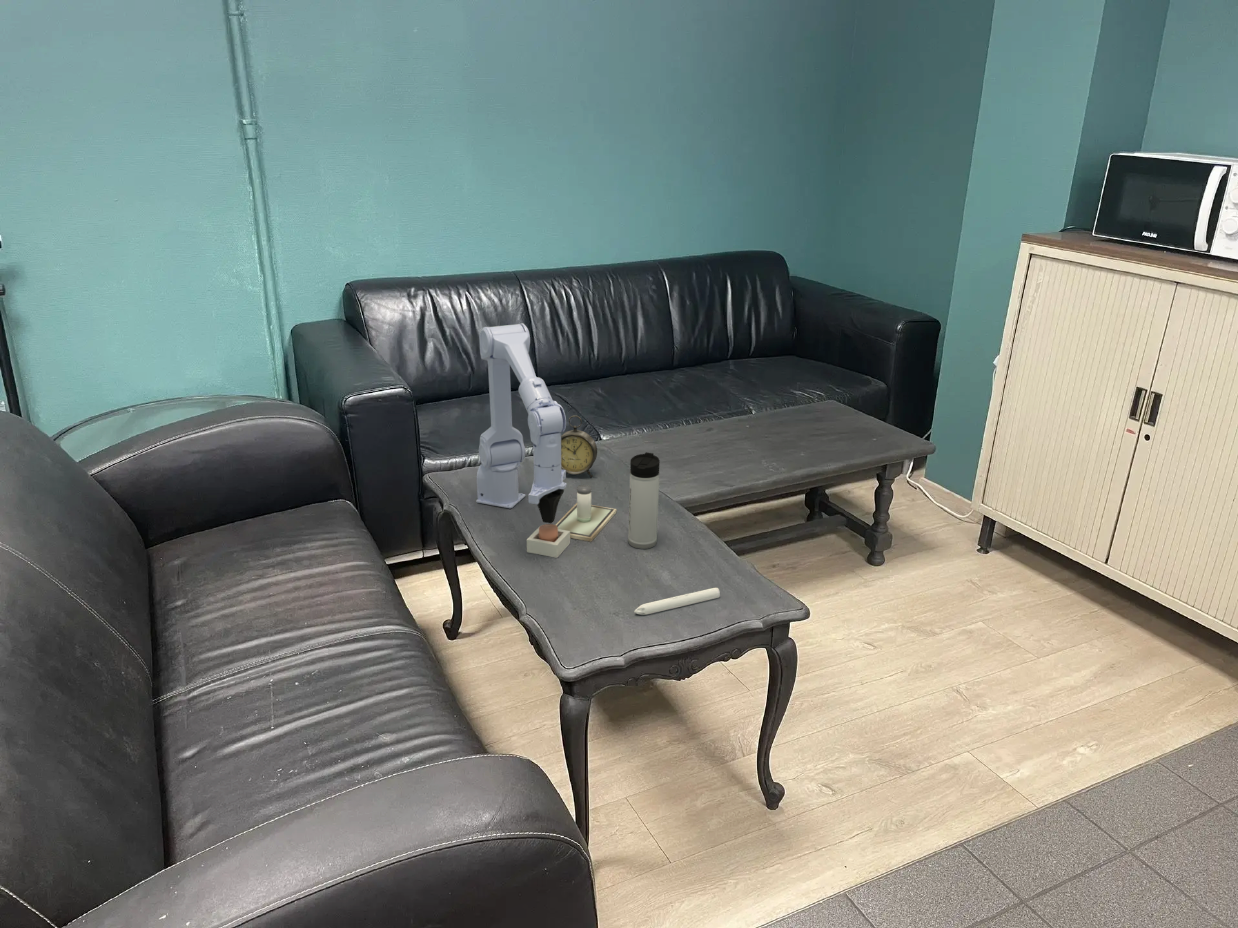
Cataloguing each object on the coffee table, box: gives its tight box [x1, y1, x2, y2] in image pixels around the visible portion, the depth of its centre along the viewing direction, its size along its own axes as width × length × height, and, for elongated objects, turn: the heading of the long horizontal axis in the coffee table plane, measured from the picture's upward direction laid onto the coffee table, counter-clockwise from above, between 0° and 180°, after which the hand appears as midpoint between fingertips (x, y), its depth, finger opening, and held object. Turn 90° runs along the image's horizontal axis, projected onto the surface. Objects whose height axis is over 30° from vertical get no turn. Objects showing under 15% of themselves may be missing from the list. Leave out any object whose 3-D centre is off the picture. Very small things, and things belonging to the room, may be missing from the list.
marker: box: [633, 587, 721, 616], centre depth 163 cm, size 18×2×2 cm, turn 115°
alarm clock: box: [561, 415, 598, 478], centre depth 218 cm, size 11×5×16 cm, turn 81°
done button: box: [538, 523, 558, 542], centre depth 183 cm, size 4×4×3 cm
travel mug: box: [627, 452, 661, 550], centre depth 184 cm, size 6×7×20 cm
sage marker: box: [576, 484, 592, 523], centre depth 194 cm, size 3×3×8 cm
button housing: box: [526, 527, 571, 559], centre depth 184 cm, size 7×7×3 cm
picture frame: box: [555, 502, 618, 542], centre depth 195 cm, size 10×16×1 cm, turn 160°
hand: (548, 521), depth 182 cm, fingers closed
